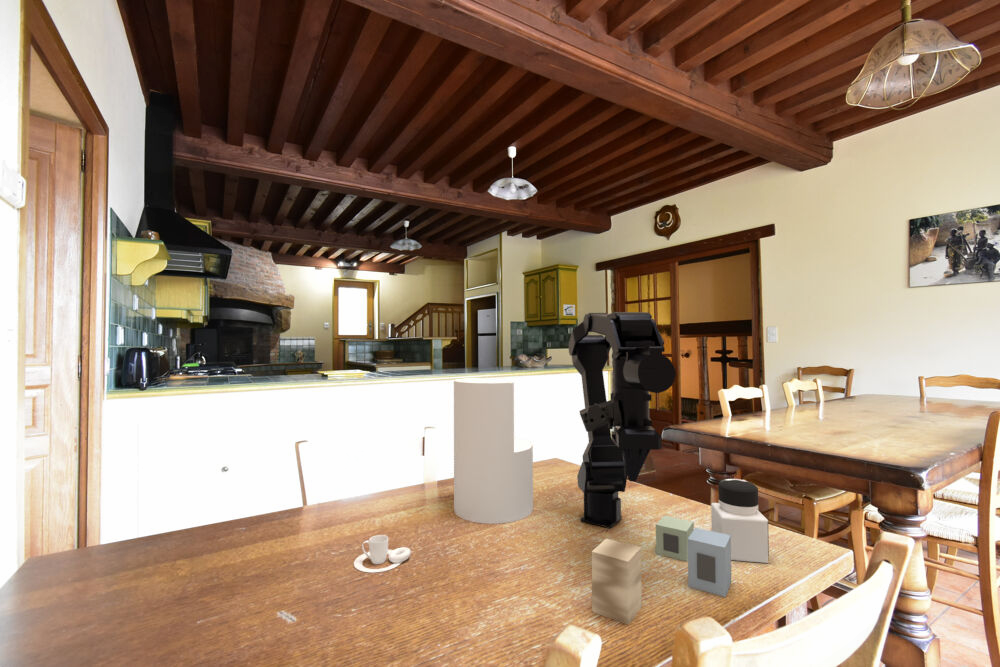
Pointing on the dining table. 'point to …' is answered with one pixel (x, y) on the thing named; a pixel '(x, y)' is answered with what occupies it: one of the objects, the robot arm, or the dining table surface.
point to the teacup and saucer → (381, 554)
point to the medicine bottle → (741, 521)
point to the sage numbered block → (673, 537)
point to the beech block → (616, 580)
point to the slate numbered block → (709, 561)
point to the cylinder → (489, 454)
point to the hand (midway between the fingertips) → (632, 480)
